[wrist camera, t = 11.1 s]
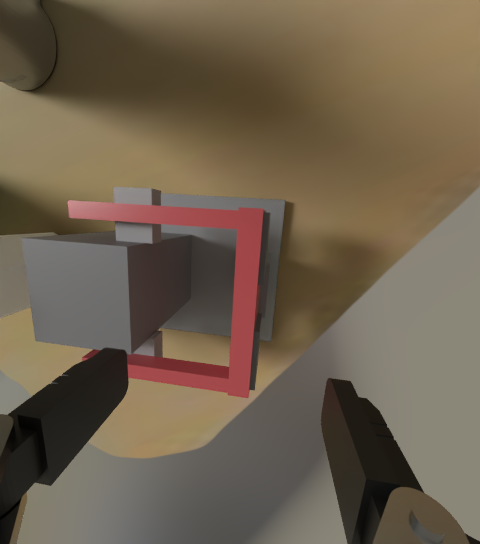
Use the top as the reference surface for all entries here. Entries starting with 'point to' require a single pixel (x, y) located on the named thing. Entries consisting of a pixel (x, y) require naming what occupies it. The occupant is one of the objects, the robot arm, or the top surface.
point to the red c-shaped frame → (245, 298)
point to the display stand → (144, 277)
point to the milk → (14, 274)
